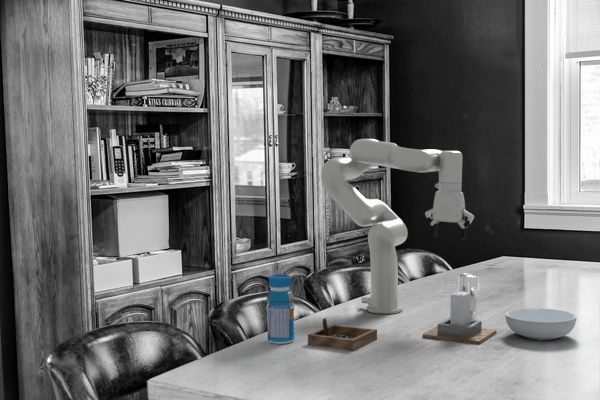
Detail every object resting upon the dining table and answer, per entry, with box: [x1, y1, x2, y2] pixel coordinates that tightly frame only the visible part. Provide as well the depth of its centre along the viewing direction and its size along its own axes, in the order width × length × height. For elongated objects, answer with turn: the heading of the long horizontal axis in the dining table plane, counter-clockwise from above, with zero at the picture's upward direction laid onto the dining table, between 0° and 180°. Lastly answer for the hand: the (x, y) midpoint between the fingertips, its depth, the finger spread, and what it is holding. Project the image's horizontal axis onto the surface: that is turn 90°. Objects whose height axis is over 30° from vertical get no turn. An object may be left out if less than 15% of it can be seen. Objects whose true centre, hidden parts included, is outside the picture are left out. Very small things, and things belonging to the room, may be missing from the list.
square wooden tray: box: [307, 323, 378, 352], centre depth 248 cm, size 15×15×3 cm
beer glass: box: [457, 273, 480, 320], centre depth 274 cm, size 7×7×15 cm
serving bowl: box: [504, 307, 577, 341], centre depth 251 cm, size 21×21×7 cm
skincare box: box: [449, 291, 471, 326], centre depth 253 cm, size 6×4×12 cm
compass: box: [322, 317, 350, 339], centre depth 249 cm, size 8×8×7 cm
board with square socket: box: [422, 317, 497, 345], centre depth 254 cm, size 18×16×4 cm
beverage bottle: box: [266, 273, 295, 345], centre depth 249 cm, size 8×8×20 cm
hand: (448, 238), depth 276 cm, fingers open, 9 cm apart
